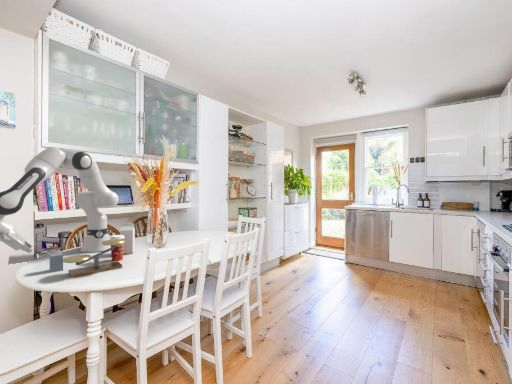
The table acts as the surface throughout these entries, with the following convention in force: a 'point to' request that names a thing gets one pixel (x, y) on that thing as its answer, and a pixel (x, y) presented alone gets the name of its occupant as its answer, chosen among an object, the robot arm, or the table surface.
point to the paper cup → (117, 249)
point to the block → (56, 262)
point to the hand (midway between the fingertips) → (31, 249)
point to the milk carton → (128, 237)
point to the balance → (96, 268)
